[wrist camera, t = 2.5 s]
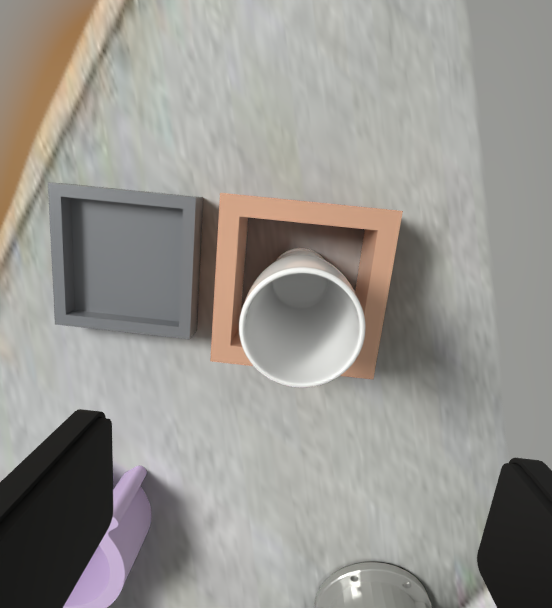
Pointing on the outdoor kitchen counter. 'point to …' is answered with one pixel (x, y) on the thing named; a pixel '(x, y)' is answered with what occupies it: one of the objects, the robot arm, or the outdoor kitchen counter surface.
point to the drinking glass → (301, 321)
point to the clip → (115, 545)
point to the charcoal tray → (125, 259)
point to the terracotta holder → (375, 222)
